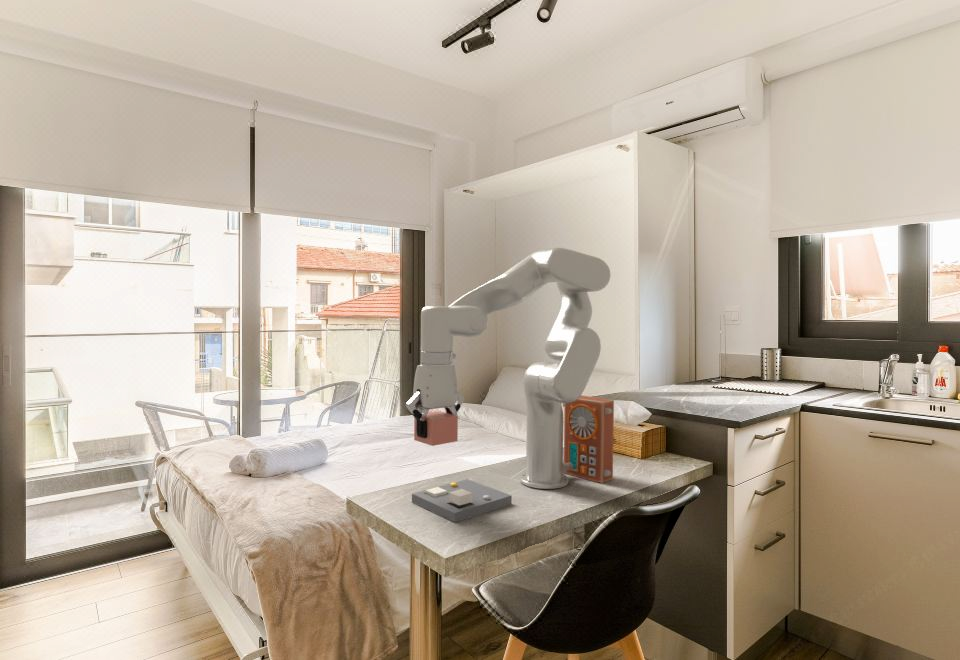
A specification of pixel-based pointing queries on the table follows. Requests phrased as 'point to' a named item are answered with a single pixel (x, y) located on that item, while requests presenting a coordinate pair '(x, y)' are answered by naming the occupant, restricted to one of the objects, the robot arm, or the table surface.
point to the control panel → (589, 438)
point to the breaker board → (481, 503)
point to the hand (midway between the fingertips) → (435, 434)
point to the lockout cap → (439, 428)
